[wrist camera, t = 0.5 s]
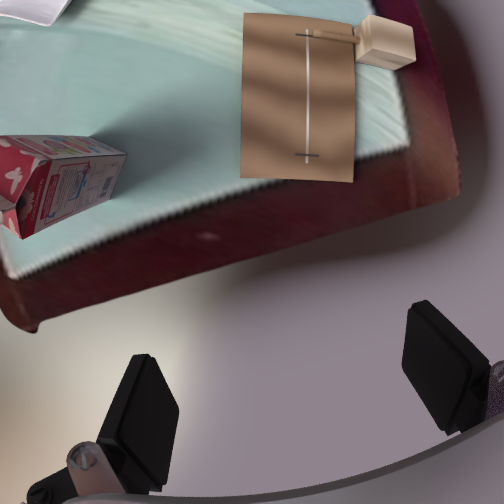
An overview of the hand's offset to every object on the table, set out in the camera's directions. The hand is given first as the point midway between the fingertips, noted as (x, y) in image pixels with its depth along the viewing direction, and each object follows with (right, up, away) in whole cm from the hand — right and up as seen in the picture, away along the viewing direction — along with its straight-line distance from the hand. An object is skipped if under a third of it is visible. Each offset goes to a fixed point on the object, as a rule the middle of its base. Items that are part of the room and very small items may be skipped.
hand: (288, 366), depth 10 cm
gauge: (+12, +31, +20) cm, 39 cm away
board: (+4, +24, +23) cm, 33 cm away
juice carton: (-22, +15, +25) cm, 36 cm away
